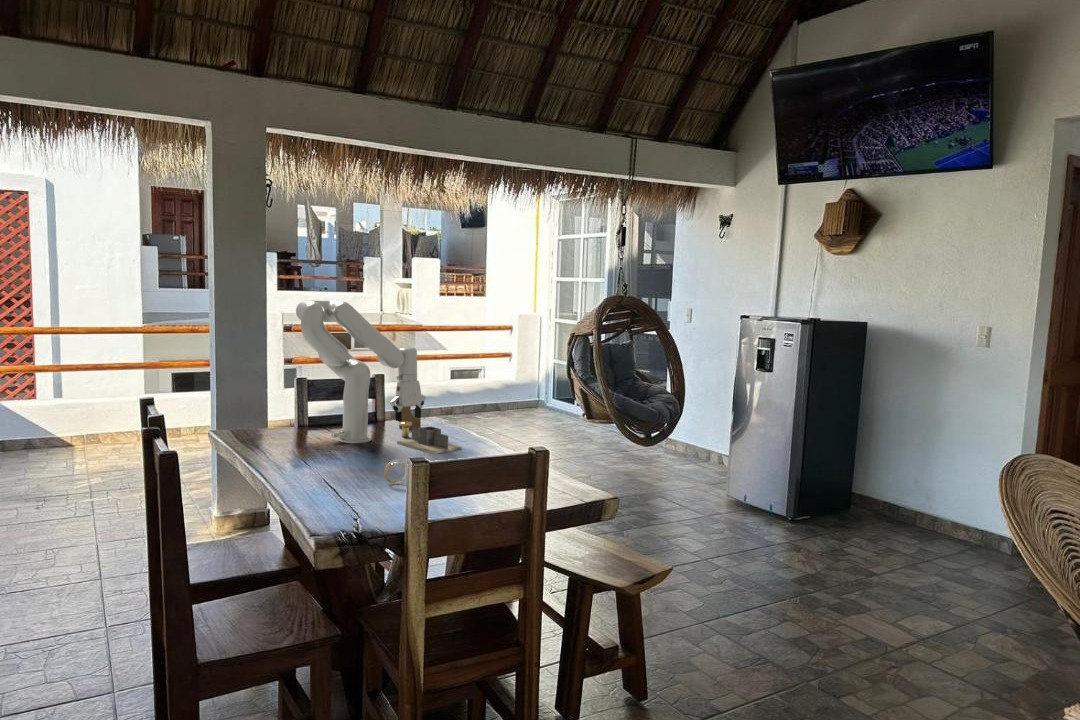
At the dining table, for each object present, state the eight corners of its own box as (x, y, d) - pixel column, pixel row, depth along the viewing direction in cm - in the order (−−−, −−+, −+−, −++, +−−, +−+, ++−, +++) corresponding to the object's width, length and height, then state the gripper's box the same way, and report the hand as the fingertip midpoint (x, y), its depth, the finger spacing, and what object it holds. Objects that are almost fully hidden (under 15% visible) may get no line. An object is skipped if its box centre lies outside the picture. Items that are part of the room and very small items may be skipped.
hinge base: (433, 454, 269) (433, 435, 268) (397, 443, 283) (397, 425, 283) (461, 449, 279) (462, 431, 279) (425, 439, 294) (425, 422, 293)
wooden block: (419, 426, 318) (421, 386, 317) (420, 428, 314) (421, 387, 312) (398, 426, 316) (400, 386, 314) (399, 428, 312) (400, 387, 310)
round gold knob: (404, 438, 293) (404, 424, 292) (396, 436, 296) (396, 422, 295) (414, 437, 296) (414, 422, 296) (406, 435, 300) (406, 420, 299)
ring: (406, 482, 229) (406, 457, 229) (407, 485, 226) (407, 460, 226) (383, 482, 228) (384, 458, 227) (384, 485, 225) (384, 460, 224)
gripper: (396, 381, 285) (396, 423, 287) (430, 376, 298) (430, 417, 300) (384, 379, 290) (385, 421, 292) (419, 374, 303) (419, 415, 305)
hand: (408, 419), depth 296 cm, fingers open, 9 cm apart
